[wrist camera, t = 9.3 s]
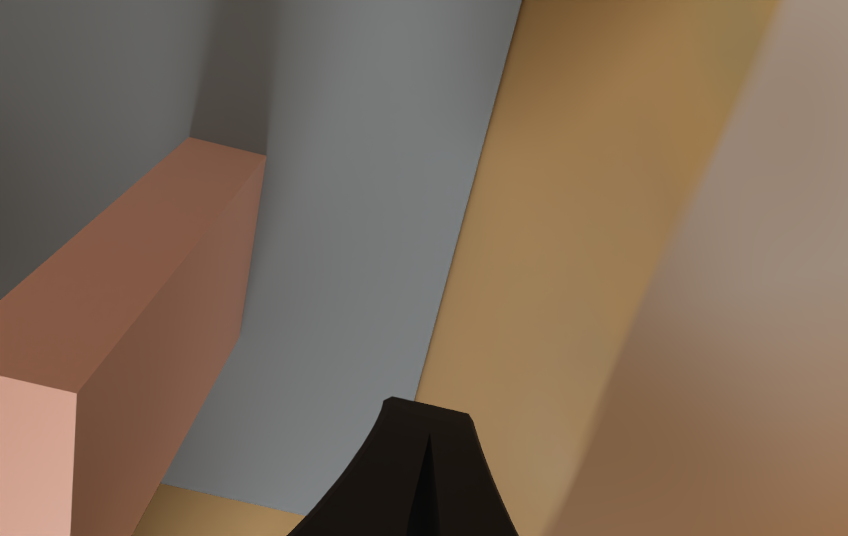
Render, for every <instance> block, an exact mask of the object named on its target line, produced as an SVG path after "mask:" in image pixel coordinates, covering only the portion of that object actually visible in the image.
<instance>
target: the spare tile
mask: <svg viewBox="0 0 848 536" xmlns="http://www.w3.org/2000/svg"><path fill="white" fill-rule="evenodd" d="M265 163H266V156H265V155H261V154H257V153H253V152H249V151H245V150H241V149H236V148H232V147H228V146H224V145H220V144H216V143H212V142H208V141H204V140H199V139H195V138H191V137H188V138H187V139H186V140H185V141H184V142H182V143H181V144H180V145H179V146H178V147H177V148H175V149H174V150H173V151H172V152H171V153H170V154H169V155H167V156H166V157H165V158H164V159H163V160H162V161H160V162H159V163H158V164H157V165H156V166H155V167H154V168H152V169H151V170H150V171H149V172H148V173H147V174H145V175H144V176H143V177H142V178H141V179H140V180H139V181H137V182H136V183H135V184H134V185H133V186H132V187H130V188H129V189H128V190H127V191H126V192H125V193H123V194H122V195H121V196H120V197H119V198H118V199H117V200H115V201H114V202H113V203H112V204H111V205H110V206H108V207H107V208H106V209H105V210H104V211H103V212H102V213H100V214H99V215H98V216H97V217H96V218H95V219H93V220H92V221H91V222H90V223H89V224H88V225H87V226H85V227H84V228H83V229H82V230H81V231H80V232H78V233H77V234H76V235H75V236H74V237H73V238H72V239H70V240H69V241H68V242H67V243H66V244H65V245H63V246H62V247H61V248H60V249H59V250H58V251H56V252H55V253H54V254H53V255H52V256H51V257H50V258H48V259H47V260H46V261H45V262H44V263H43V264H41V265H40V266H39V267H38V268H37V269H36V270H35V271H33V272H32V273H31V274H30V275H29V276H28V277H26V278H25V279H24V280H23V281H22V282H21V283H20V284H18V285H17V286H16V287H15V288H14V289H13V290H11V291H10V292H9V293H8V294H7V295H6V296H5V297H3V298H2V299H1V300H0V536H132V534H133V532H134V530H135V528H136V527H137V525H138V523H139V521H140V519H141V517H142V516H143V514H144V512H145V510H146V508H147V506H148V505H149V503H150V501H151V499H152V497H153V495H154V493H155V492H156V490H157V488H158V486H159V484H160V482H161V481H162V479H163V477H164V475H165V473H166V471H167V469H168V468H169V466H170V464H171V462H172V460H173V458H174V457H175V455H176V453H177V451H178V449H179V447H180V446H181V444H182V442H183V440H184V438H185V436H186V434H187V433H188V431H189V429H190V427H191V425H192V423H193V422H194V420H195V418H196V416H197V414H198V412H199V411H200V409H201V407H202V405H203V403H204V401H205V399H206V398H207V396H208V394H209V392H210V390H211V388H212V387H213V385H214V383H215V381H216V379H217V377H218V376H219V374H220V372H221V370H222V368H223V366H224V364H225V363H226V361H227V359H228V357H229V355H230V353H231V352H232V350H233V348H234V346H235V344H236V342H237V340H238V339H239V336H240V329H241V323H242V316H243V309H244V303H245V296H246V289H247V283H248V276H249V269H250V263H251V256H252V249H253V243H254V236H255V229H256V223H257V216H258V209H259V203H260V196H261V189H262V183H263V176H264V169H265Z"/></svg>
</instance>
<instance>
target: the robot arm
mask: <svg viewBox="0 0 848 536" xmlns="http://www.w3.org/2000/svg"><path fill="white" fill-rule="evenodd" d="M287 536H519V535H518V533H517V531H516V529H515V527H514V525H513V523H512V521H511V519H510V517H509V514H508V512H507V510H506V508H505V505H504V503H503V501H502V499H501V496H500V494H499V492H498V490H497V487H496V485H495V482H494V480H493V478H492V475H491V472H490V470H489V467H488V465H487V462H486V459H485V457H484V454H483V451H482V448H481V445H480V442H479V439H478V436H477V433H476V429H475V426H474V422H473V420H472V419H471V417H470V415H469V414H467V413H463V412H459V411H454V410H450V409H446V408H441V407H437V406H433V405H428V404H424V403H420V402H415V401H411V400H407V399H403V398H398V397H394V396H391V397H389V398H387V399H385V400H383V404H382V408H381V411H380V413H379V415H378V418H377V420H376V422H375V424H374V426H373V428H372V429H371V431H370V433H369V434H368V436H367V438H366V439H365V441H364V443H363V444H362V446H361V447H360V449H359V450H358V452H357V453H356V454H355V456H354V457H353V459H352V460H351V462H350V463H349V464H348V466H347V467H346V469H345V470H344V471H343V473H342V474H341V475H340V477H339V478H338V479H337V480H336V482H335V483H334V484H333V485H332V486H331V488H330V489H329V490H328V491H327V492H326V494H325V495H324V496H323V497H322V498H321V500H320V501H319V502H318V503H317V504H316V505H315V507H314V508H313V509H312V510H311V511H310V512H309V513H308V514H307V515H306V516H305V518H304V519H303V520H302V521H301V522H300V523H299V524H298V525H297V526H296V527H295V528H294V529H293V530H292V531H291V532H290V533H289V534H288V535H287Z"/></svg>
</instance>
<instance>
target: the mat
mask: <svg viewBox="0 0 848 536" xmlns="http://www.w3.org/2000/svg"><path fill="white" fill-rule="evenodd" d="M521 2H522V0H0V300H1V299H2V298H3V297H5V296H6V295H7V294H8V293H9V292H10V291H11V290H13V289H14V288H15V287H16V286H17V285H18V284H20V283H21V282H22V281H23V280H24V279H25V278H26V277H28V276H29V275H30V274H31V273H32V272H33V271H35V270H36V269H37V268H38V267H39V266H40V265H41V264H43V263H44V262H45V261H46V260H47V259H48V258H50V257H51V256H52V255H53V254H54V253H55V252H56V251H58V250H59V249H60V248H61V247H62V246H63V245H65V244H66V243H67V242H68V241H69V240H70V239H72V238H73V237H74V236H75V235H76V234H77V233H78V232H80V231H81V230H82V229H83V228H84V227H85V226H87V225H88V224H89V223H90V222H91V221H92V220H93V219H95V218H96V217H97V216H98V215H99V214H100V213H102V212H103V211H104V210H105V209H106V208H107V207H108V206H110V205H111V204H112V203H113V202H114V201H115V200H117V199H118V198H119V197H120V196H121V195H122V194H123V193H125V192H126V191H127V190H128V189H129V188H130V187H132V186H133V185H134V184H135V183H136V182H137V181H139V180H140V179H141V178H142V177H143V176H144V175H145V174H147V173H148V172H149V171H150V170H151V169H152V168H154V167H155V166H156V165H157V164H158V163H159V162H160V161H162V160H163V159H164V158H165V157H166V156H167V155H169V154H170V153H171V152H172V151H173V150H174V149H175V148H177V147H178V146H179V145H180V144H181V143H182V142H184V141H185V140H186V139H187V138H188V137H191V138H195V139H199V140H204V141H208V142H212V143H216V144H220V145H224V146H228V147H232V148H236V149H241V150H245V151H249V152H253V153H257V154H261V155H265V156H266V163H265V169H264V176H263V183H262V189H261V196H260V203H259V209H258V216H257V223H256V229H255V236H254V243H253V249H252V256H251V263H250V269H249V276H248V283H247V289H246V296H245V303H244V309H243V316H242V323H241V329H240V336H239V339H238V340H237V342H236V344H235V346H234V348H233V350H232V352H231V353H230V355H229V357H228V359H227V361H226V363H225V364H224V366H223V368H222V370H221V372H220V374H219V376H218V377H217V379H216V381H215V383H214V385H213V387H212V388H211V390H210V392H209V394H208V396H207V398H206V399H205V401H204V403H203V405H202V407H201V409H200V411H199V412H198V414H197V416H196V418H195V420H194V422H193V423H192V425H191V427H190V429H189V431H188V433H187V434H186V436H185V438H184V440H183V442H182V444H181V446H180V447H179V449H178V451H177V453H176V455H175V457H174V458H173V460H172V462H171V464H170V466H169V468H168V469H167V471H166V473H165V475H164V477H163V479H162V481H161V482H160V483H162V484H166V485H171V486H175V487H180V488H184V489H189V490H193V491H198V492H202V493H206V494H211V495H215V496H220V497H224V498H229V499H233V500H238V501H242V502H246V503H251V504H255V505H260V506H264V507H269V508H273V509H278V510H282V511H286V512H291V513H295V514H300V515H304V516H306V515H307V514H308V513H309V512H310V511H311V510H312V509H313V508H314V507H315V505H316V504H317V503H318V502H319V501H320V500H321V498H322V497H323V496H324V495H325V494H326V492H327V491H328V490H329V489H330V488H331V486H332V485H333V484H334V483H335V482H336V480H337V479H338V478H339V477H340V475H341V474H342V473H343V471H344V470H345V469H346V467H347V466H348V464H349V463H350V462H351V460H352V459H353V457H354V456H355V454H356V453H357V452H358V450H359V449H360V447H361V446H362V444H363V443H364V441H365V439H366V438H367V436H368V434H369V433H370V431H371V429H372V428H373V426H374V424H375V422H376V420H377V418H378V415H379V413H380V411H381V408H382V404H383V400H385V399H387V398H389V397H391V396H394V397H398V398H403V399H407V400H411V401H414V399H415V395H416V391H417V388H418V384H419V380H420V377H421V373H422V369H423V365H424V362H425V358H426V354H427V351H428V347H429V343H430V340H431V336H432V332H433V328H434V325H435V321H436V317H437V314H438V310H439V306H440V302H441V299H442V295H443V291H444V288H445V284H446V280H447V276H448V273H449V269H450V265H451V262H452V258H453V254H454V250H455V247H456V243H457V239H458V236H459V232H460V228H461V224H462V221H463V217H464V213H465V210H466V206H467V202H468V198H469V195H470V191H471V187H472V184H473V180H474V176H475V172H476V169H477V165H478V161H479V158H480V154H481V150H482V146H483V143H484V139H485V135H486V132H487V128H488V124H489V120H490V117H491V113H492V109H493V106H494V102H495V98H496V94H497V91H498V87H499V83H500V80H501V76H502V72H503V68H504V65H505V61H506V57H507V54H508V50H509V46H510V42H511V39H512V35H513V31H514V28H515V24H516V20H517V17H518V13H519V9H520V5H521Z"/></svg>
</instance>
